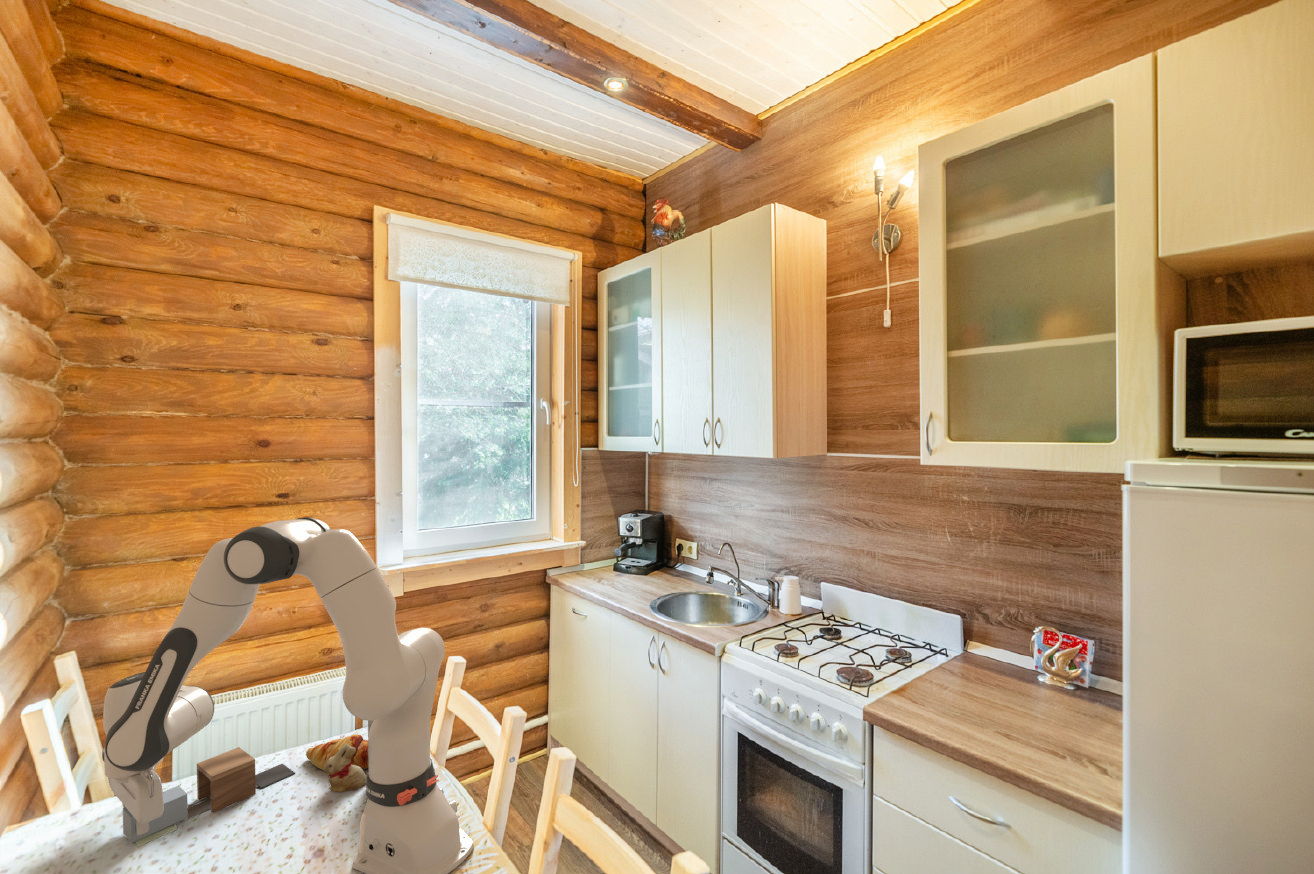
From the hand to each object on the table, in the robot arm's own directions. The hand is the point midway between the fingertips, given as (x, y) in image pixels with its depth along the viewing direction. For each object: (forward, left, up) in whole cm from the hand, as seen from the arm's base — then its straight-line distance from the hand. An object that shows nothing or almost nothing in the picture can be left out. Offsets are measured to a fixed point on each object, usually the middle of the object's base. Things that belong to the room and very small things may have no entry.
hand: (136, 825), depth 118 cm
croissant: (-9, -37, -2) cm, 38 cm away
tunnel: (0, -14, -2) cm, 14 cm away
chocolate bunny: (-18, -32, -2) cm, 37 cm away
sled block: (0, -3, -2) cm, 4 cm away
